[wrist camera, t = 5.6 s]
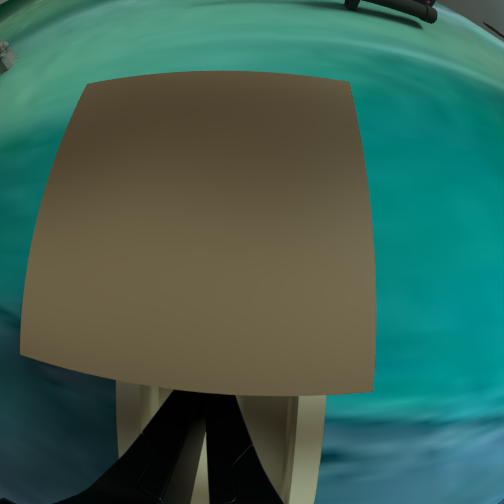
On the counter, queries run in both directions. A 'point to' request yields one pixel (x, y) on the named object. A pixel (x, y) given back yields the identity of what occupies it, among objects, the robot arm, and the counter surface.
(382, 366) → the counter surface
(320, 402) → the chute
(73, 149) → the walnut block
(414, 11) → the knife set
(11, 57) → the bumpy grey rock
